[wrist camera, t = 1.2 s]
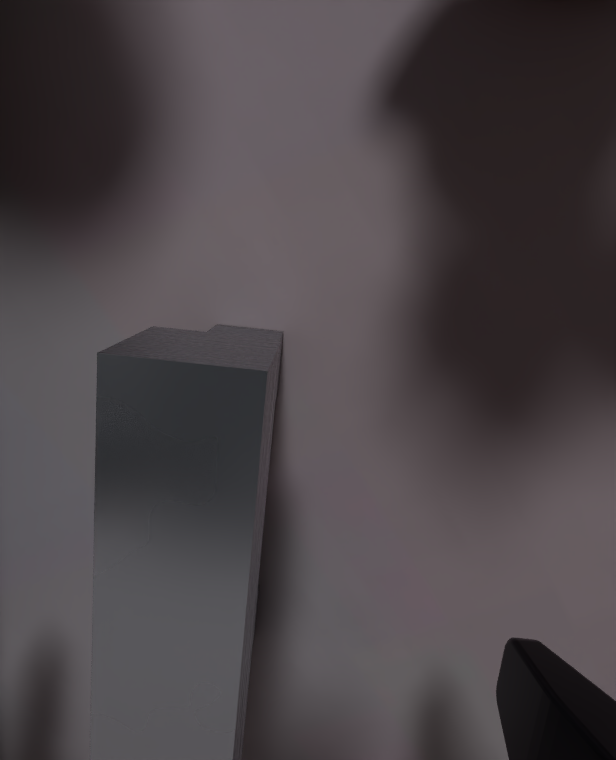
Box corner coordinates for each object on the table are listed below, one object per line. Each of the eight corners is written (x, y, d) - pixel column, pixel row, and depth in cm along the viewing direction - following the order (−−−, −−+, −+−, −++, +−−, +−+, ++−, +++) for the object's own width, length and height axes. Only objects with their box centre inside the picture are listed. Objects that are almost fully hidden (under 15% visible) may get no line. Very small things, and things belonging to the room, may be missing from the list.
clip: (295, 309, 12) (268, 370, 6) (260, 654, 14) (214, 956, 8) (208, 299, 12) (97, 352, 6) (186, 646, 14) (86, 942, 8)
